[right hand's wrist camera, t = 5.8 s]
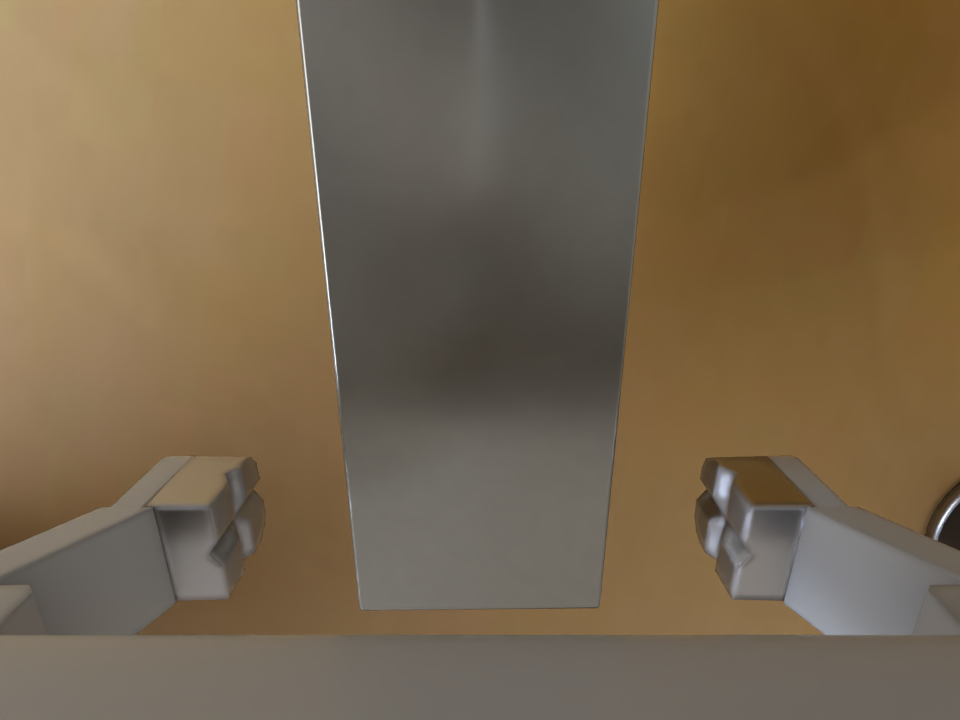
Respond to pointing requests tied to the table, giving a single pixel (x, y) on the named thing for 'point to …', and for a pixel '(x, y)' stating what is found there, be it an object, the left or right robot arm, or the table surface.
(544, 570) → the bar
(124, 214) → the table surface
